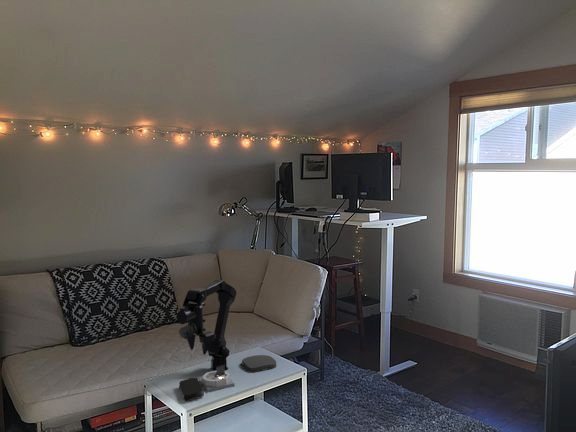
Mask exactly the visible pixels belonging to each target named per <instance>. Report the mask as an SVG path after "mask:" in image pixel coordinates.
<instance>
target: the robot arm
mask: <svg viewBox="0 0 576 432" xmlns="http://www.w3.org/2000/svg"><path fill="white" fill-rule="evenodd" d="M215 293H216V294H217V300H218V303H219V308H218V312H217V317H216V322H215V327H214V332H213V331H210V330H208V331H207V329H206V328H205V327H204V323H206V319H205V318H204V310H203V309H204V308H203V307H205V306H206V303H205V301H206V300H207V298H208V296H211V295H213V294H215ZM236 296H237V290H236V289H235V287H233V286H232V285H230V284H228V283H227V282H226V281H225V280H219V279H216V280H213V282H210V283H208V284H207V285H204V286H202V287H200V288H191V289H189V290H188V291H187V293H186V295H185V298H184V301H183V303H182V307H180V308H179V311H178V312H176V313H177V314H176V321H177V322H178V324H180V325H184V326H182V327H180V329H178V333H179V335H180V338H182V339H184V340H186V341H187V343H188V347H189V348H190V350H191V351H192V350H194V346H195V343H196V336H198V339H199V341H198V342H199V343H200V344H201V349H202V353H203V356H204V355H206V354H208V356H209V357H211V359H210V368H211V369H212V371H217V369H216V367H217V366H220V365H224V366H225V371H226V370H229V367H228V365H227V363H228V362H227V358H228V357H229V356H230V352H231V351H230V350H229V348H228V347H227V346H226V345H227V341H226V338H225V333H226V327H227V322H228V318H229V312H230V307H231V306H232V305H233V303H234V302H235V299H236ZM186 324H187V325H186Z"/></svg>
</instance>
